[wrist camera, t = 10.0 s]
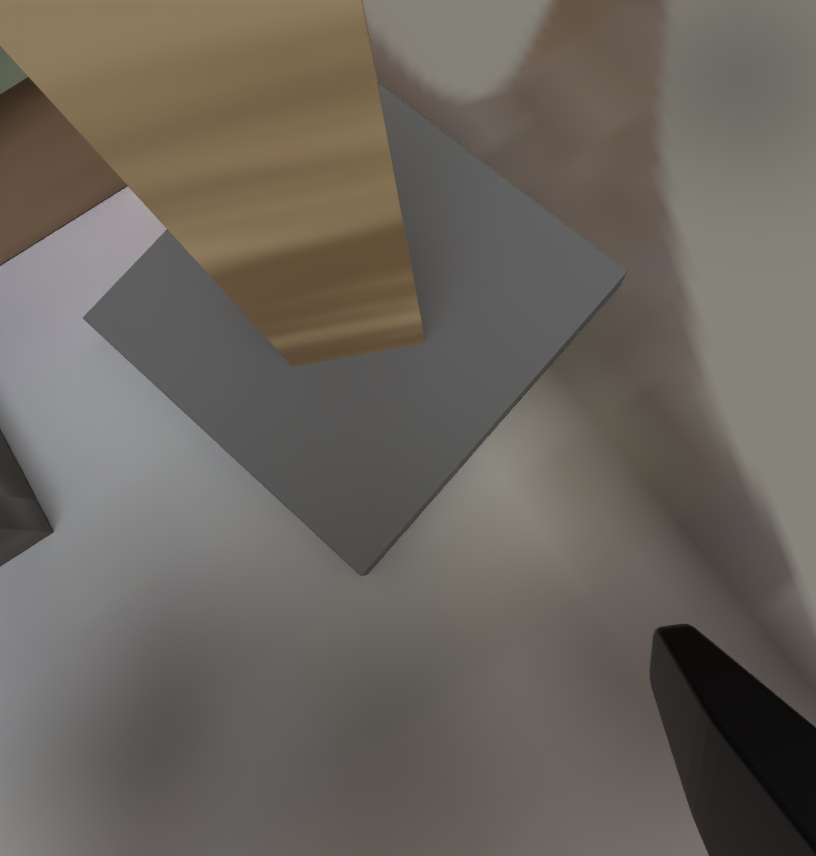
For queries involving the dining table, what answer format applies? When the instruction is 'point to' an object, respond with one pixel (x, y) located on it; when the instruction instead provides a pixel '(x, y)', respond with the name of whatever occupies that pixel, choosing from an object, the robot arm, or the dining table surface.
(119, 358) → the dining table surface
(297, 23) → the tan tall rectangular block
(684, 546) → the dining table surface
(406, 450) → the rubber mat
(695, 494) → the dining table surface
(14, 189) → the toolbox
